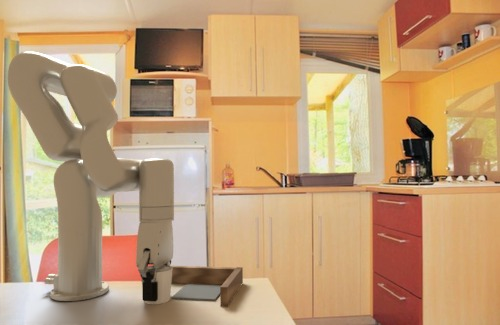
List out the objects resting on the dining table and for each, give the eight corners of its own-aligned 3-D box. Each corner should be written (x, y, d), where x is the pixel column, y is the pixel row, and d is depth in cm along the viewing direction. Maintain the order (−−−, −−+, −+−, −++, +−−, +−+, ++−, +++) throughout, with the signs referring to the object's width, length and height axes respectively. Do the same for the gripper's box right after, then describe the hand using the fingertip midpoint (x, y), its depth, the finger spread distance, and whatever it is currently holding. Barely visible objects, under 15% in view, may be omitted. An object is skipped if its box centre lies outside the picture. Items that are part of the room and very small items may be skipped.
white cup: (164, 306, 78) (164, 272, 79) (134, 304, 80) (134, 271, 80) (177, 295, 85) (177, 264, 85) (149, 294, 86) (149, 263, 87)
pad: (171, 298, 83) (171, 297, 83) (186, 285, 93) (186, 284, 93) (214, 301, 81) (214, 299, 81) (225, 287, 91) (225, 285, 91)
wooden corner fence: (142, 302, 81) (142, 283, 81) (171, 280, 98) (171, 265, 98) (227, 306, 78) (227, 287, 78) (242, 283, 94) (242, 267, 95)
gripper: (157, 210, 92) (157, 283, 92) (121, 218, 75) (121, 308, 75) (185, 210, 91) (186, 284, 90) (156, 218, 74) (156, 310, 73)
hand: (157, 294), depth 82 cm, fingers closed on white cup, 6 cm apart
